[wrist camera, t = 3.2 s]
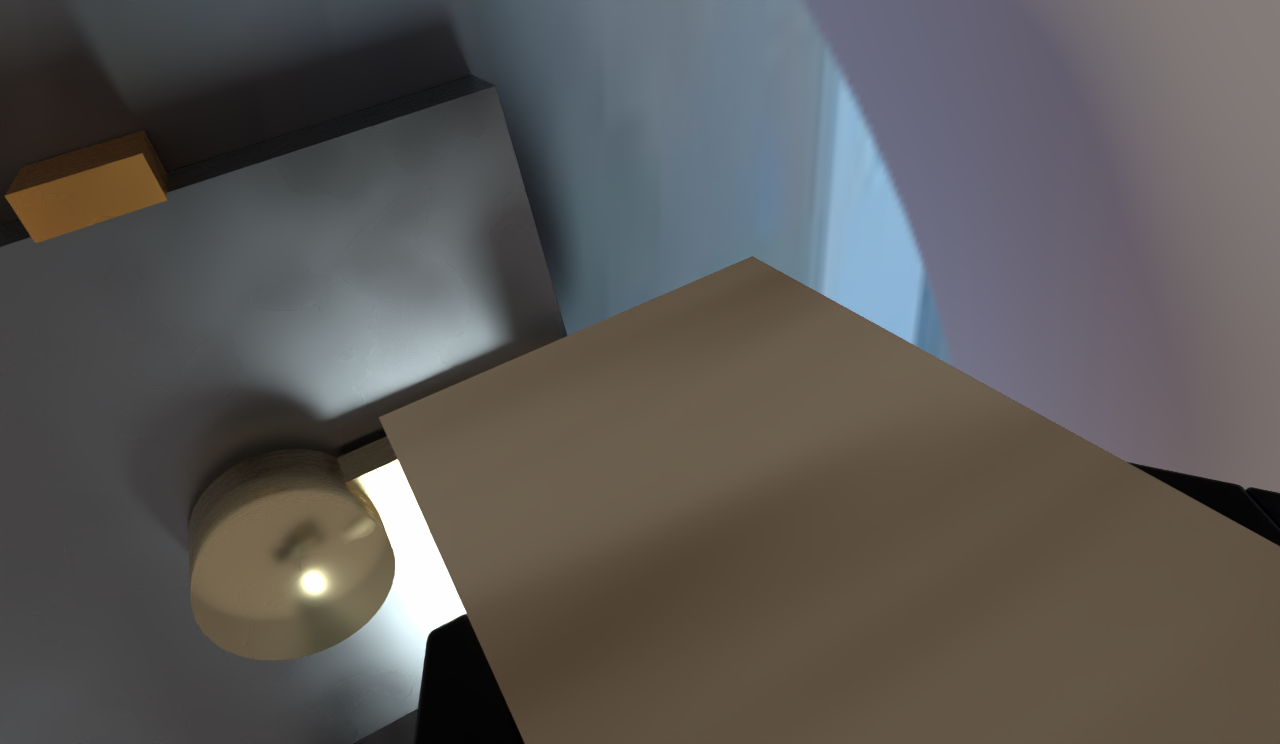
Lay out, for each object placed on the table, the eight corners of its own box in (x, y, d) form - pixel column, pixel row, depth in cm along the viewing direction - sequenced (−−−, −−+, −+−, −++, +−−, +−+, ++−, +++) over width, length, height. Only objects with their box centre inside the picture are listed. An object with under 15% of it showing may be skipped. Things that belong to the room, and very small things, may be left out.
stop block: (789, 533, 11) (1283, 1005, 6) (504, 690, 10) (838, 1428, 5) (752, 255, 9) (1478, 655, 4) (378, 418, 7) (760, 1271, 3)
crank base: (616, 556, 25) (647, 598, 23) (115, 819, 20) (112, 893, 19) (459, 34, 17) (491, 45, 15) (-415, 297, 12) (-497, 350, 11)
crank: (238, 623, 18) (260, 819, 14) (152, 500, 16) (149, 687, 12) (644, 427, 21) (757, 544, 17) (614, 303, 19) (734, 401, 15)
